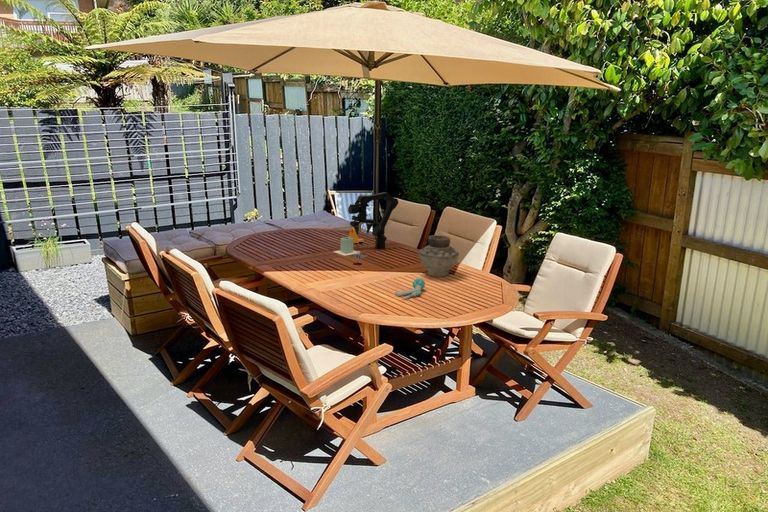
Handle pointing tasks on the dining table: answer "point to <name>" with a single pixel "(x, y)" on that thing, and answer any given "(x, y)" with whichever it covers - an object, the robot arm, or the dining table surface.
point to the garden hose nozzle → (417, 285)
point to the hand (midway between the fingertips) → (362, 234)
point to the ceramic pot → (438, 256)
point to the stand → (358, 255)
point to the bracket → (354, 236)
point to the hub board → (344, 253)
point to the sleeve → (347, 245)
